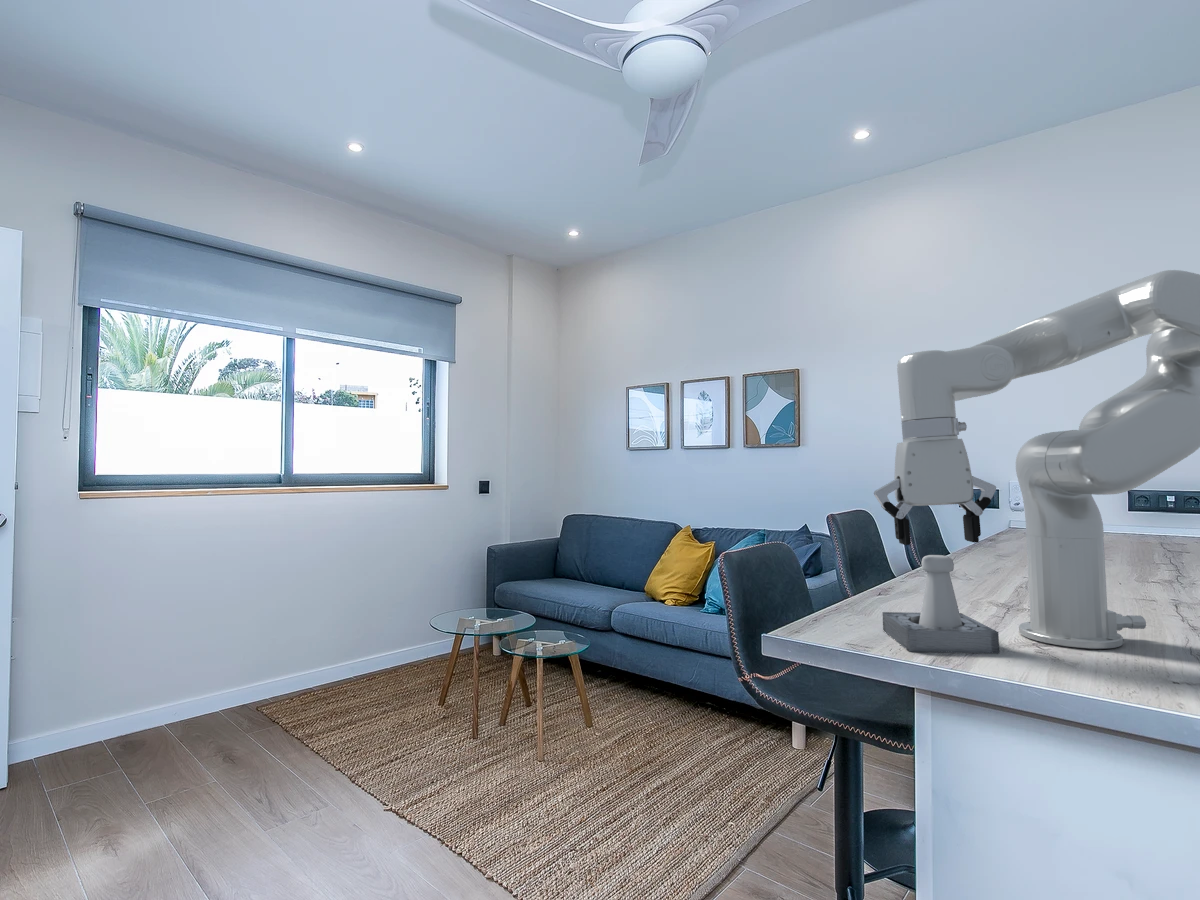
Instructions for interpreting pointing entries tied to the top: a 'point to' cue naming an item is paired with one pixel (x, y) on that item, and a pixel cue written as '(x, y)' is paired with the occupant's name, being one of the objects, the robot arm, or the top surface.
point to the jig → (940, 635)
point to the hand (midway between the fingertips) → (938, 542)
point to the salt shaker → (939, 594)
